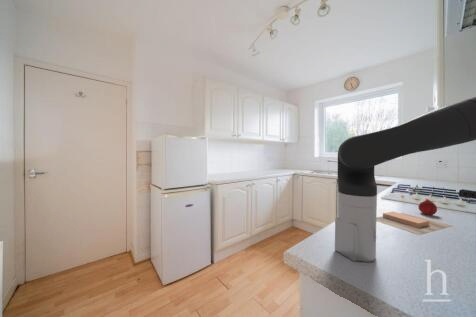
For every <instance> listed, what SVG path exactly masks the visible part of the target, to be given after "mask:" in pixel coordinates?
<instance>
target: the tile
mask: <svg viewBox="0 0 476 317" xmlns="http://www.w3.org/2000/svg"><path fill="white" fill-rule="evenodd" d="M401 213H402V212H396V211H388V212H387V211H386V212H383V213H382V216H383V217H385V218H388V219H391V220H395V221H398V222H401V223H405V224H408V225H411V226H415V227H418V228H419V227H423V226H427V225H429V221H428V220H429V219H428V220H424V219H425V218H424V219H420V218H421V217H420V218H416V217H417V216H416V217H412V216H408V215H405V214H406V213H405V214H401Z"/></svg>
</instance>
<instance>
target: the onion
mask: <svg viewBox="0 0 476 317" xmlns="http://www.w3.org/2000/svg"><path fill="white" fill-rule="evenodd" d="M418 210H419V211H420V213H422V214H423V215H426V216H433V215H435V214H436V213H437V211H438V207H437V205H436V204H435V203H434V202H432V201H431V200H430V198H425V200H423V201H421V202H419V204H418Z"/></svg>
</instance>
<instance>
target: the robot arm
mask: <svg viewBox="0 0 476 317" xmlns="http://www.w3.org/2000/svg"><path fill="white" fill-rule="evenodd" d="M473 141H476V96H474V97H470V98H467V99H464V100H460V101H458V102H454V103H452V104H448V105H445V106H443V107H440V108H437V109H434V110H431V111H430V112H426V113H424V114H422V115H419V116H417V117H414V118H413V119H410V120H408V121H407V122H406V121H405V122H404V123H401V124H399V125H395V126H392V127H389V128H386V129H382V130H378V131H374V132H373V131H372V132H370V133H369V132H368V133H364V134H358V135H354V136H350V137H348V138H347V139H346V140H344V141H343V142H342V143H341V144H340V145H339V147H338V150H337V217H336V218H335V220H334V250H335V251H336V252H338V253H339V254H341V255H343V256H344V257H346V258H348V259H350V260H351V261H353V262H357V261H359V262H365V263H366V262H367V263H368V262H369V263H370V262H373V261H376V259H377V258H376V257H377V221H376V218H377V214H378V213H377V209H378V208H377V206H378V205H377V204H378V202H377V201H378V185H377V182H376V177H375V167H376V166H378V165H381V164H383V163H386V162H388V161H392V160H395V159H397V158H400V157H403V156H407V155H412V154H417V153H422V152H426V151H433V150H438V149H443V148H447V147H448V148H449V147H452V146H457V145H461V144H466V143H469V142H473ZM458 196H459V197H462V198H469V199H475V200H476V190H470V189H459V191H458Z"/></svg>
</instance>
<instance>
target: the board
mask: <svg viewBox="0 0 476 317" xmlns="http://www.w3.org/2000/svg"><path fill="white" fill-rule="evenodd" d="M400 213H401V214H405V215H408V216H412V217H416V218H420V219H424V220H428V221H429V225H427V226H423V227H419V228H418V227H415V226H411V225H408V224H405V223H401V222H398V221H395V220H391V219H388V218H385V217H383V215H382V216H378V217H377V216H376V222H379V223H381V224H384V225H387V226H391V227H394V228H396V229H399V230H402V231H406V232H409V233H411V234H415V235H417V236H420V235H424V234H428V233H432V232H436V231H439V230H442V229H446V228H450V227H453V225H451V224H447V223H445V222H444V223H443V222H440V221H436V220H433V219H432V220H431V219H428V218H424V217H421V216H416V215H412V214H408V213H405V212H400Z"/></svg>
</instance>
